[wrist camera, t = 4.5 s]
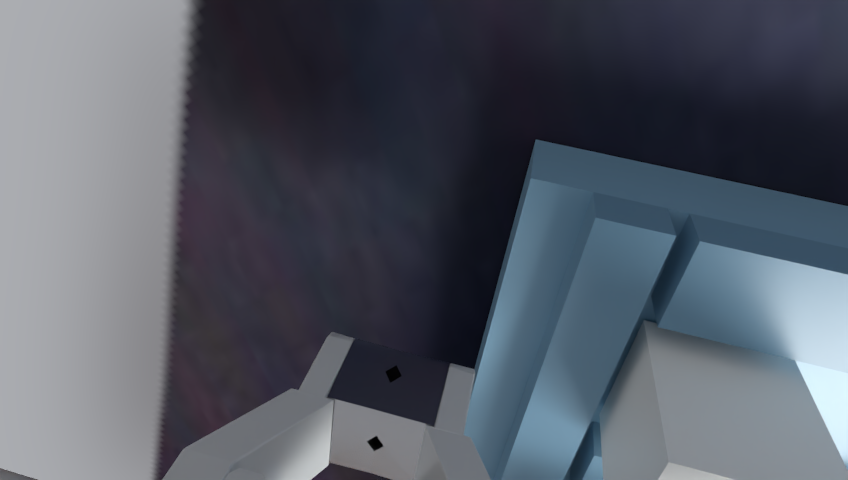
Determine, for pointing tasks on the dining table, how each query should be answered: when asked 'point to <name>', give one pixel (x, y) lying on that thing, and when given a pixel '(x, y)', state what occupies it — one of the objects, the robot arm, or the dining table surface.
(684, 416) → the white rectangular block
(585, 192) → the switch bank
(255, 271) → the dining table surface
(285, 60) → the dining table surface
